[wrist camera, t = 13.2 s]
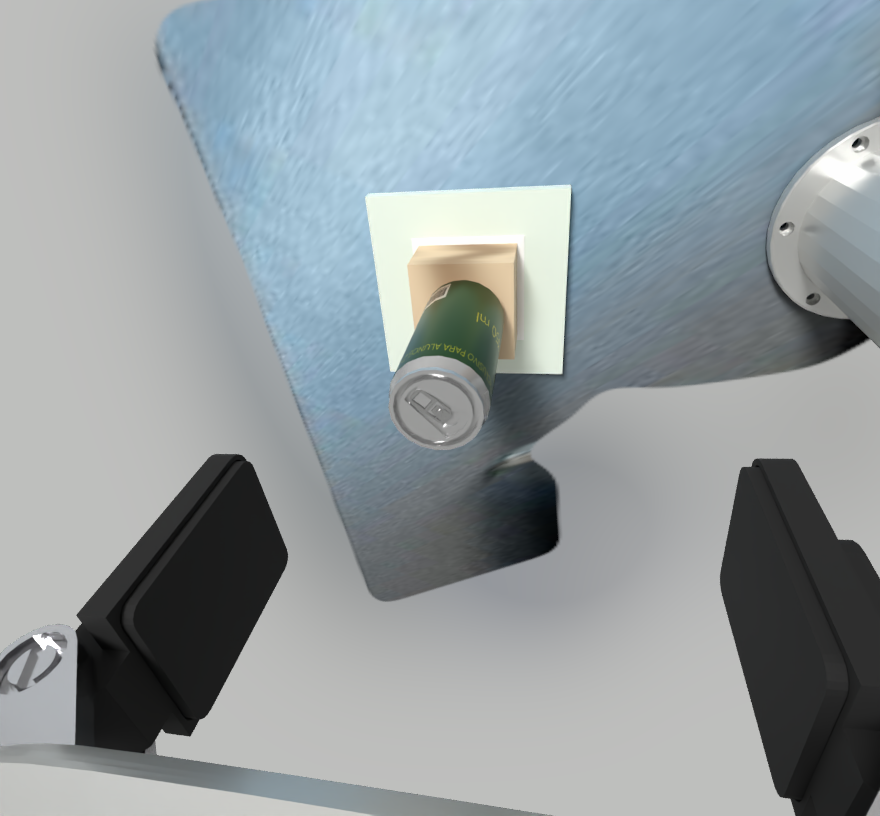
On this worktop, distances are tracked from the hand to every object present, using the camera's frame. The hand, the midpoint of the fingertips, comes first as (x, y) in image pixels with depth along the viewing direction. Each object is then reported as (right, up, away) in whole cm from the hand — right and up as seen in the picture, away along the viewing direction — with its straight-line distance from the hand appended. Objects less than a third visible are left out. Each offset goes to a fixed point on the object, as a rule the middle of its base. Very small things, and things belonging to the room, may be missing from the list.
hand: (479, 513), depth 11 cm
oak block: (+1, +11, +31) cm, 32 cm away
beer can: (+1, +9, +27) cm, 29 cm away
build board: (+2, +11, +31) cm, 33 cm away
